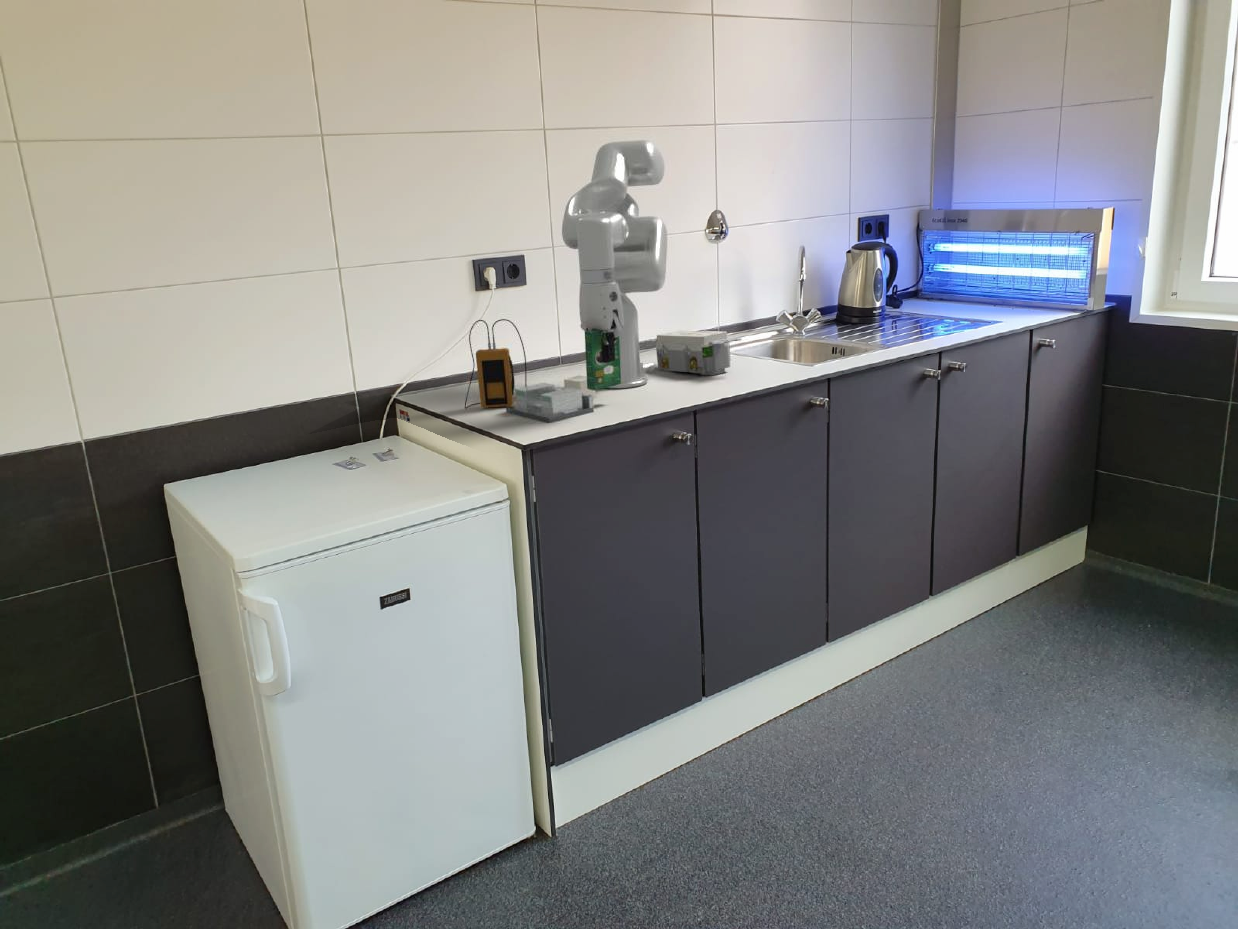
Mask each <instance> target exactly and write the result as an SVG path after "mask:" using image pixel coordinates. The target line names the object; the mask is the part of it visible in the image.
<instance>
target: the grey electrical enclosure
mask: <svg viewBox="0 0 1238 929" xmlns="http://www.w3.org/2000/svg"><path fill="white" fill-rule="evenodd" d="M644 341H645V343H651V342H652V343H653V342H655V348H656V350H655V351H656V360H657V371H658V370H659V371H664V372H665V371H667V372H682V373H683V372H684V373H688V372H689V373H691V374H700V376H714V375H719V374H723V373H725V372H726V369H727V368H731V360H732V359H731V349H730V347H731V346H730V343H733V342H738V341H742V338H740V337H739V338H730V339H729V338H728V332H727V331H715V330H714V331H713V330H711V331H710V330H677V331H670V332H665V333H661V334H656V338H654V339H653V338H652V339H651V338H650V339H646V340H644Z"/></svg>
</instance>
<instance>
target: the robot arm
mask: <svg viewBox="0 0 1238 929" xmlns="http://www.w3.org/2000/svg"><path fill="white" fill-rule="evenodd" d="M664 160H665V159H664V157H663V155H662V152H661V151H660V149H659V148H658V147H657V146H656V145H655V144H654V143H653V142H651V141H649V140H645V139H644V140H642V139H641V140H640V139H639V140H627V141H626V140H625V141H612V142H608V143H605V144H603V145H602V146H600V147H599V149H598V150H597V152H596V155H595V160H594V165H593V171H592V176H591V180H590V182H589V183H587V184H586V185H584V186H583V187H581V188H580V189H579V190H577V192H575V193H574V194H573V195H572V196H571V198H569V200H568V202H567V204H565V205H566V206H565V208H564V214H563V217H562V218H563V219H562V225H561V236H562V240H563V242H564V244H565V245H566V247H568V248H569V249H572V250H577V253H578V264H579V278H580V283H579V297H578V298H579V300H578V301H579V304H578V305H579V306H578V307H579V320H580V329H581V330H582V331H583V332H585V331H587V330H593V329H595V330H601V331H602V337H603V343H604V345H602V359H603V363H608V362H611V361H615V346H614V343H616V339H617V338H618V336H619V341H620V370H621V384H618V385H615V386H610V387H606V389H627V388H628V389H629V388H635V387H636V388H637V387H640V386H643V385H646V383H648V377H647V376H645V373H646V372H651V371H653V370H655V367H656V366H655V364H654V362H648V363H645V364H644V363H643V362H641V357H640V336H639V318H638V317H639V316H638V310H637V307H636V305H635V304H634V302H633V301H632V300H631V299H630V298H629V297H628V295H627V294H631V293H632V294H633V293H652V292H657V291H660V290H661V289H662V288H663V286H664V284H665V280H666V274H667V272H666V270H667V256H668V255H667V254H668V251H667V250H668V230H667V227H666V224H665V222H664V221H663V220H662V218H661V217H658V216H651V215H649V216H647V215H646V216H639V214H640V209H639V205H638V203H637V202H636V200H635V199H634V198H633V197H632V196H631V195H630V194H629V192H628V187H641V186H642V187H643V186H644V187H645V186H654V185H658V184H660V183H661V182H662V180H663V178H664V176H665V161H664ZM609 332H610V334H609V336H608V334H607V333H609Z"/></svg>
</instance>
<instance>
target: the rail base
mask: <svg viewBox="0 0 1238 929" xmlns="http://www.w3.org/2000/svg"><path fill="white" fill-rule="evenodd" d="M514 393H515V398H516V399H515V402H516V404H515V405H512V406H510V407H507V406H505V410H506V413H509V414H513V415H518V416H521V417H525V418H528V419H529V418H530V419H533V420H537V421H542V422H545V423H549V424H550V423H554V422H557V421H559V422H560V421H562V420H566V419H569V418H570V419H571V418H574V417H579V416H582V415H586V414H589V413H593V412H594V411H595V409H594V399H593V396H591V395H586V394H582V391H581V390H578V389H573V388H567V389H565V388H563V389H562V388H561V389H560V388H556V385H555V384H553V383H548V382H540V383H537V384H536V383H535V384H531V385H526V387H525V386H523V387H517V388H514Z"/></svg>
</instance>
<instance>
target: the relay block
mask: <svg viewBox="0 0 1238 929" xmlns="http://www.w3.org/2000/svg"><path fill="white" fill-rule="evenodd" d="M563 382H564V383H563V385H564V389H567V388H573V389H578V390H581V391H582V394H586V395H591V396H593V400H595V399H596V398H597V394H596V393H597V392H596V391H597V390H594V391H593V390H589V389H587V375H585V376H584V375H576V376H572V377H569V378H565V379H563Z"/></svg>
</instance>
